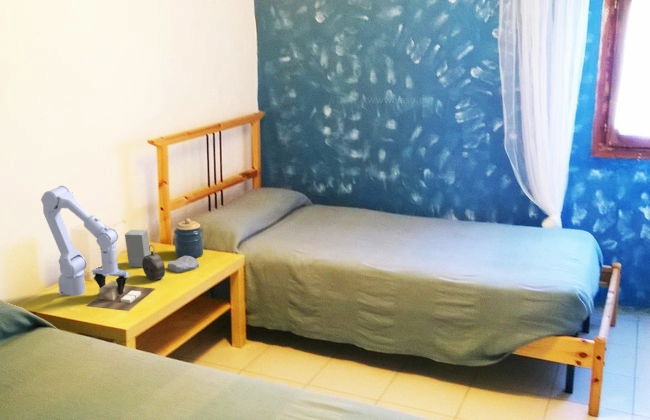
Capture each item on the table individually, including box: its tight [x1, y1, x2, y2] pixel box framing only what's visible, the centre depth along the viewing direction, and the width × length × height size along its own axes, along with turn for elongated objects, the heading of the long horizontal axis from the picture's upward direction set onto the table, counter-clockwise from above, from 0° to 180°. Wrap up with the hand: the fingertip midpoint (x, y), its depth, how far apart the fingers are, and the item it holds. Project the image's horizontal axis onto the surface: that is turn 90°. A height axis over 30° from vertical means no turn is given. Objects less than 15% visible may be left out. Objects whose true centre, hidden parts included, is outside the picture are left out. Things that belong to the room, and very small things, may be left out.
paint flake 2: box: [127, 291, 141, 298], centre depth 272 cm, size 4×4×1 cm
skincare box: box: [124, 229, 151, 268], centre depth 307 cm, size 8×7×16 cm
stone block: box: [166, 256, 200, 274], centre depth 306 cm, size 12×5×10 cm
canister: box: [173, 217, 204, 259], centre depth 320 cm, size 13×13×18 cm
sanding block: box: [98, 280, 125, 301], centre depth 272 cm, size 6×9×4 cm, turn 167°
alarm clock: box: [142, 244, 166, 281], centre depth 288 cm, size 11×5×16 cm, turn 47°
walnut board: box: [85, 284, 156, 312], centre depth 272 cm, size 18×22×2 cm
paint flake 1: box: [121, 295, 135, 303], centre depth 268 cm, size 4×4×1 cm
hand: (112, 292), depth 272 cm, fingers open, 7 cm apart
